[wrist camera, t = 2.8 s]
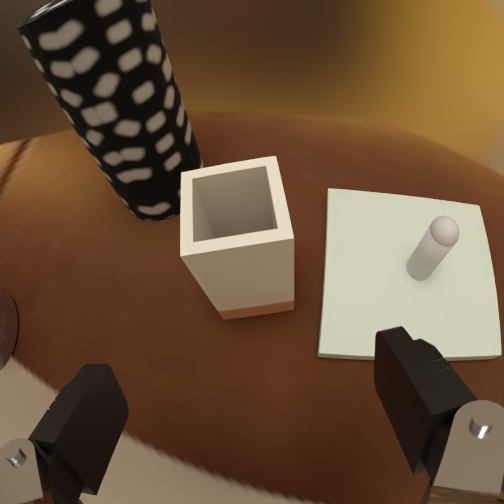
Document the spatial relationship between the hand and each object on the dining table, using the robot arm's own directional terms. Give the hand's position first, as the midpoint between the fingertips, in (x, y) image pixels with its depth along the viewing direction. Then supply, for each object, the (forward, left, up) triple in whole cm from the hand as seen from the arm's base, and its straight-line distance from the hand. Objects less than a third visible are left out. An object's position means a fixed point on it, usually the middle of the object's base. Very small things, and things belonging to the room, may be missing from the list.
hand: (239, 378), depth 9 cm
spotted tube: (-12, +17, -13) cm, 25 cm away
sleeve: (-2, +8, -13) cm, 15 cm away
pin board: (+10, +10, -13) cm, 19 cm away
